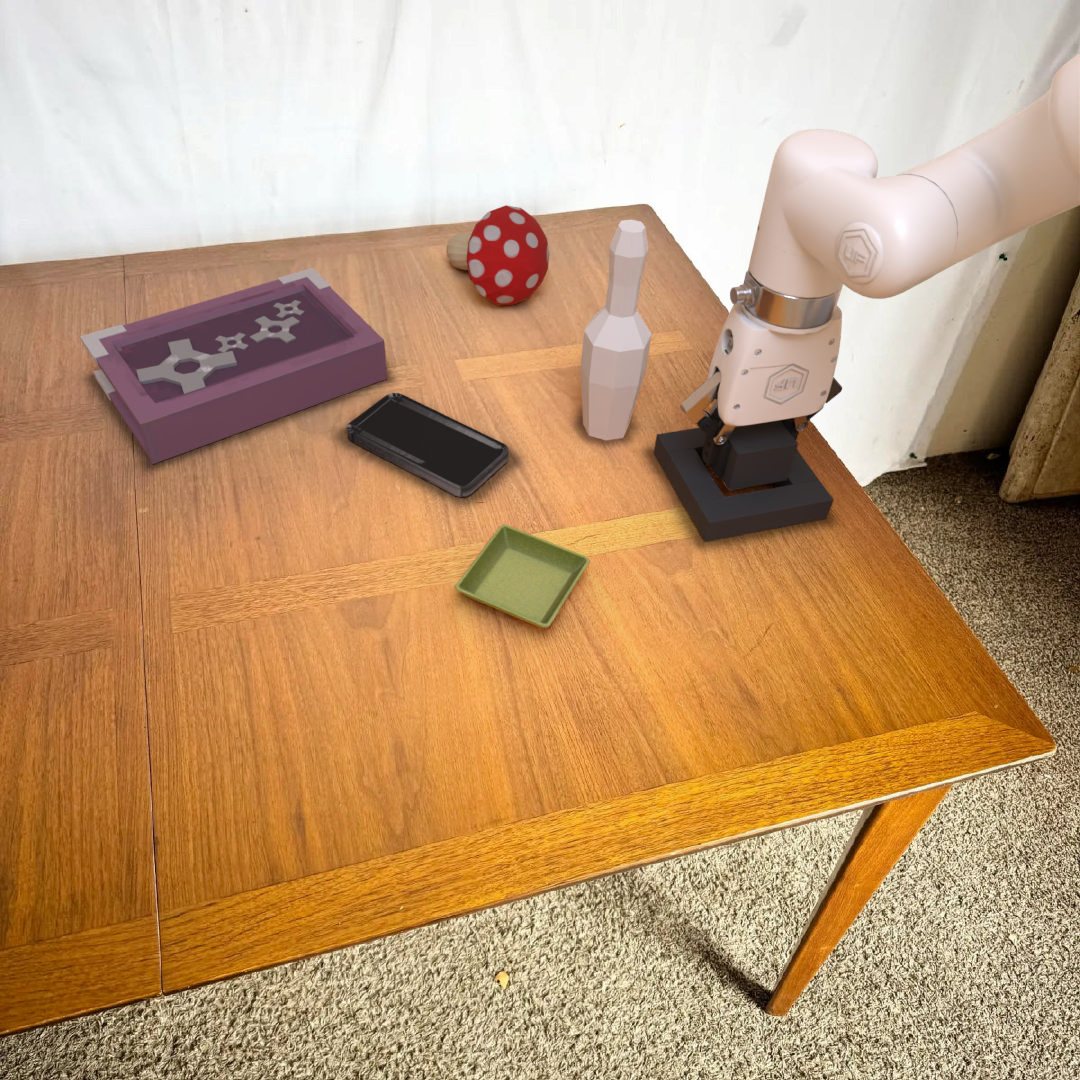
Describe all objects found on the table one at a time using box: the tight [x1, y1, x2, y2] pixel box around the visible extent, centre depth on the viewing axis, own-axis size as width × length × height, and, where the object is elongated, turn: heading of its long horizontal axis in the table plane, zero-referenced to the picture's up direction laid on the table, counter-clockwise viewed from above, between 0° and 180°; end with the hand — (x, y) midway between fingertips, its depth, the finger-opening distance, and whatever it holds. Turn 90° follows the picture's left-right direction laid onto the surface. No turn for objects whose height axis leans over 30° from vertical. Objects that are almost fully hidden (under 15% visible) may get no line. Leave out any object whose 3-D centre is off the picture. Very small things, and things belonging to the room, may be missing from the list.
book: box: [79, 267, 388, 465], centre depth 99 cm, size 25×16×5 cm, turn 126°
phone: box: [346, 392, 510, 498], centre depth 94 cm, size 8×1×15 cm
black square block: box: [704, 419, 799, 492], centre depth 89 cm, size 6×6×4 cm
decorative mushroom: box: [446, 204, 550, 307], centre depth 113 cm, size 11×11×15 cm
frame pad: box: [653, 426, 834, 543], centre depth 92 cm, size 13×13×2 cm
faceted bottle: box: [580, 219, 653, 441], centre depth 90 cm, size 6×6×22 cm
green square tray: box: [454, 523, 591, 629], centre depth 81 cm, size 9×9×2 cm
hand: (745, 460), depth 90 cm, fingers closed on black square block, 6 cm apart
